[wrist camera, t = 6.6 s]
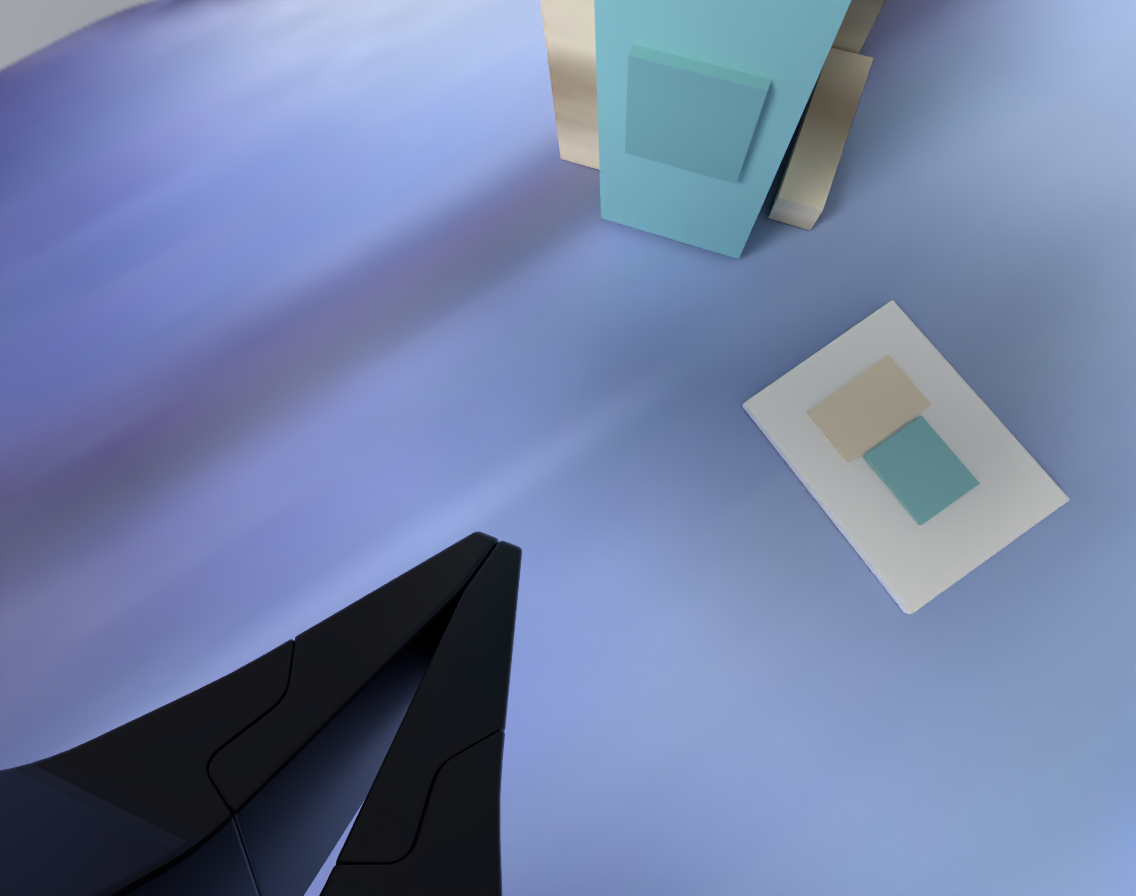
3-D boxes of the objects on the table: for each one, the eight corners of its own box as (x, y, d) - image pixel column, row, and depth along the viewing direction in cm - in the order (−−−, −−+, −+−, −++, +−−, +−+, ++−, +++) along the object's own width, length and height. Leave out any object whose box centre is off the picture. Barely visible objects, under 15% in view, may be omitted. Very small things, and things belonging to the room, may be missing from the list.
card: (1059, 501, 18) (1075, 499, 17) (904, 613, 17) (914, 615, 17) (886, 304, 19) (895, 297, 19) (741, 405, 19) (745, 401, 18)
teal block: (736, 266, 19) (875, -53, 9) (598, 225, 20) (583, -117, 10) (807, 64, 21) (1002, -420, 10) (674, 31, 21) (734, -456, 11)
